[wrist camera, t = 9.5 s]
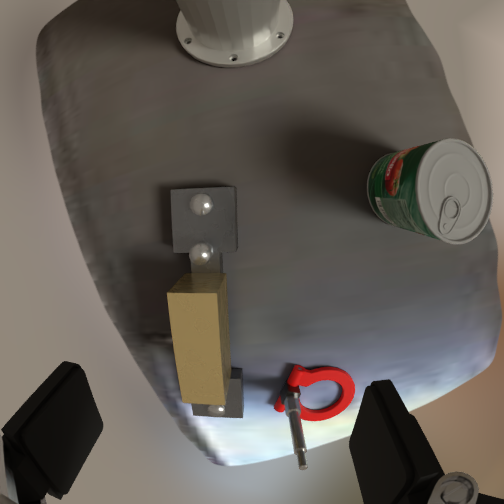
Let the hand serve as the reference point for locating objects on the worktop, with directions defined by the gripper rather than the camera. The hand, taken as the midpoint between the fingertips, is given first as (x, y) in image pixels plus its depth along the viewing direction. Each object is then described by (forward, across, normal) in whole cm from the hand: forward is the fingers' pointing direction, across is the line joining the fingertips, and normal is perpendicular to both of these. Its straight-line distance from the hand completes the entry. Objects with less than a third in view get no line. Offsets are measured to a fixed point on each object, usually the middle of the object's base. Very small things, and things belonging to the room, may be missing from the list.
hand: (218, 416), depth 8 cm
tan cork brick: (+20, +4, +7) cm, 22 cm away
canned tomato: (+23, -16, -7) cm, 29 cm away
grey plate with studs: (+22, +4, +7) cm, 23 cm away
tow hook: (+22, -8, +18) cm, 29 cm away
